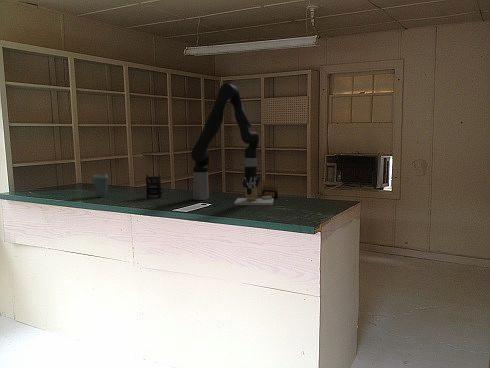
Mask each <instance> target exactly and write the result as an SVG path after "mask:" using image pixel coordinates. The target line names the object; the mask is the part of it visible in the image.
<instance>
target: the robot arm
mask: <svg viewBox="0 0 490 368" xmlns="http://www.w3.org/2000/svg"><path fill="white" fill-rule="evenodd" d="M228 101H229V102H230V103H231V105H232V107H233V112H234V117H235V118H234V119H235V121H236V124H237V126H238V127H239V133H240V139H241V141H242V142H243V143H244V144H246V145H247V144H248V145H247V146H248V147H245V148H244V160H243V161H244V163H243V168H244V169H243V170H244V171H243V172H244V177H243V178H240V180H241V184H242V186H243V188H244V189H245V188H246V189H247V195H250V188H257V187H258V186H259V184H260V181H261V177H260V176H258V175H257V173H258V159H257V150H258V146H259V141H260V137H259V133H258V132H256V131H253V130H252V131H250V130H249V129H250V128H251V126H252V125H251V122H250V119H249V117H248V115H247V113H246V111H245V109H244V105H243V101H242V99H241V95H240V90H239V89H238V87H237V86H236V85H235V84H232V83H229V82H224V83H223V84H222V85H221V86H220V88H219V90H218V93H217V95H216V99H215V101H214V104H213V106H212V108H211V110H210V113H209V115H208V116H207V119H206V121H205V124H204V125H203V128H202V131H201V133H200V134H199V137H198V140H197V141H196V143H195V144H194V146H193V147H192V150H191V152H190V153H191V154H190V155H191V159H192V160H193V161H194V165H193V167H192V168H193V169H192V170H193V173H192V174H193V184H192V198H193V200H197V201H203V200H205V201H206V200H208V199H209V198H210V195H209V168H210V152H209V149H208V148H209V146H210V144H211V142H212V140H213V139H214V138H215V136H216V135H217V134H218V133H219V130H220V129H221V127H222V124H223V122H224V115H225V114H224V111H225V108H226V104H227V103H228ZM209 200H210V199H209Z"/></svg>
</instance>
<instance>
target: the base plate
mask: <svg viewBox="0 0 490 368" xmlns="http://www.w3.org/2000/svg"><path fill="white" fill-rule="evenodd" d="M259 198H260V199H256V200H246V197H244V198H243V197H238V198H236V199H235V201H234V202H233V203H234V206H273V204H274V203H275V202H274V200H275V198H272V196H262V195H261V197H259Z"/></svg>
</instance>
